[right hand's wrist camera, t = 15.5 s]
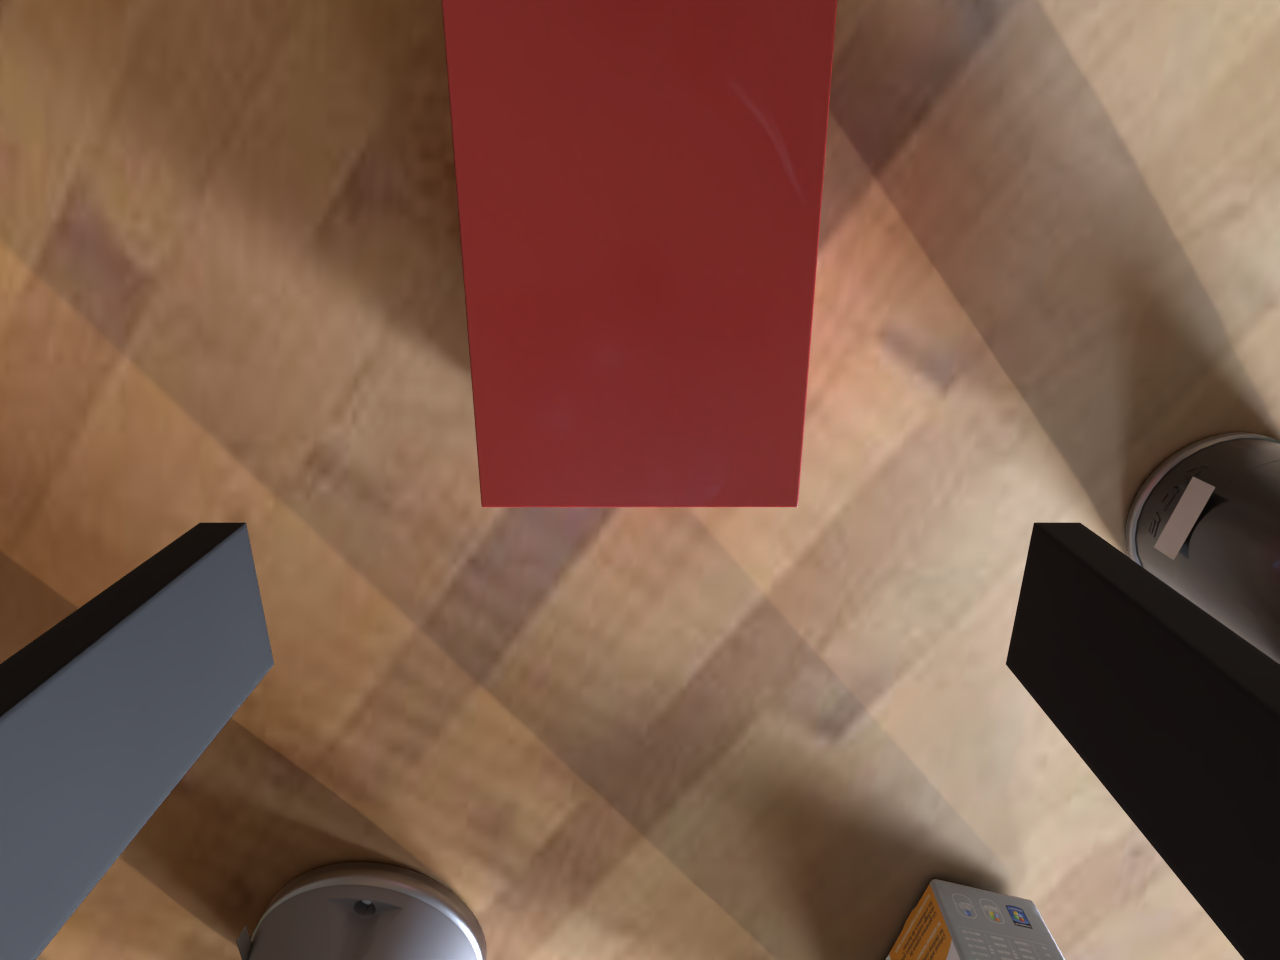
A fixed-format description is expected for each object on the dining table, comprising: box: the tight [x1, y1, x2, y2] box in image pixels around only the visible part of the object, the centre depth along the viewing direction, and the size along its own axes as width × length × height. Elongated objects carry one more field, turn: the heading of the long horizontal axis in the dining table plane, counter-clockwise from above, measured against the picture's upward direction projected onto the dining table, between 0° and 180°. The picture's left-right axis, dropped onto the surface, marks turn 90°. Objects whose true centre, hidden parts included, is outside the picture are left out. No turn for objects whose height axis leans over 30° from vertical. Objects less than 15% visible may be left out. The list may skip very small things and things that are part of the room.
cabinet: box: [442, 0, 837, 507], centre depth 29 cm, size 17×11×12 cm, turn 0°
